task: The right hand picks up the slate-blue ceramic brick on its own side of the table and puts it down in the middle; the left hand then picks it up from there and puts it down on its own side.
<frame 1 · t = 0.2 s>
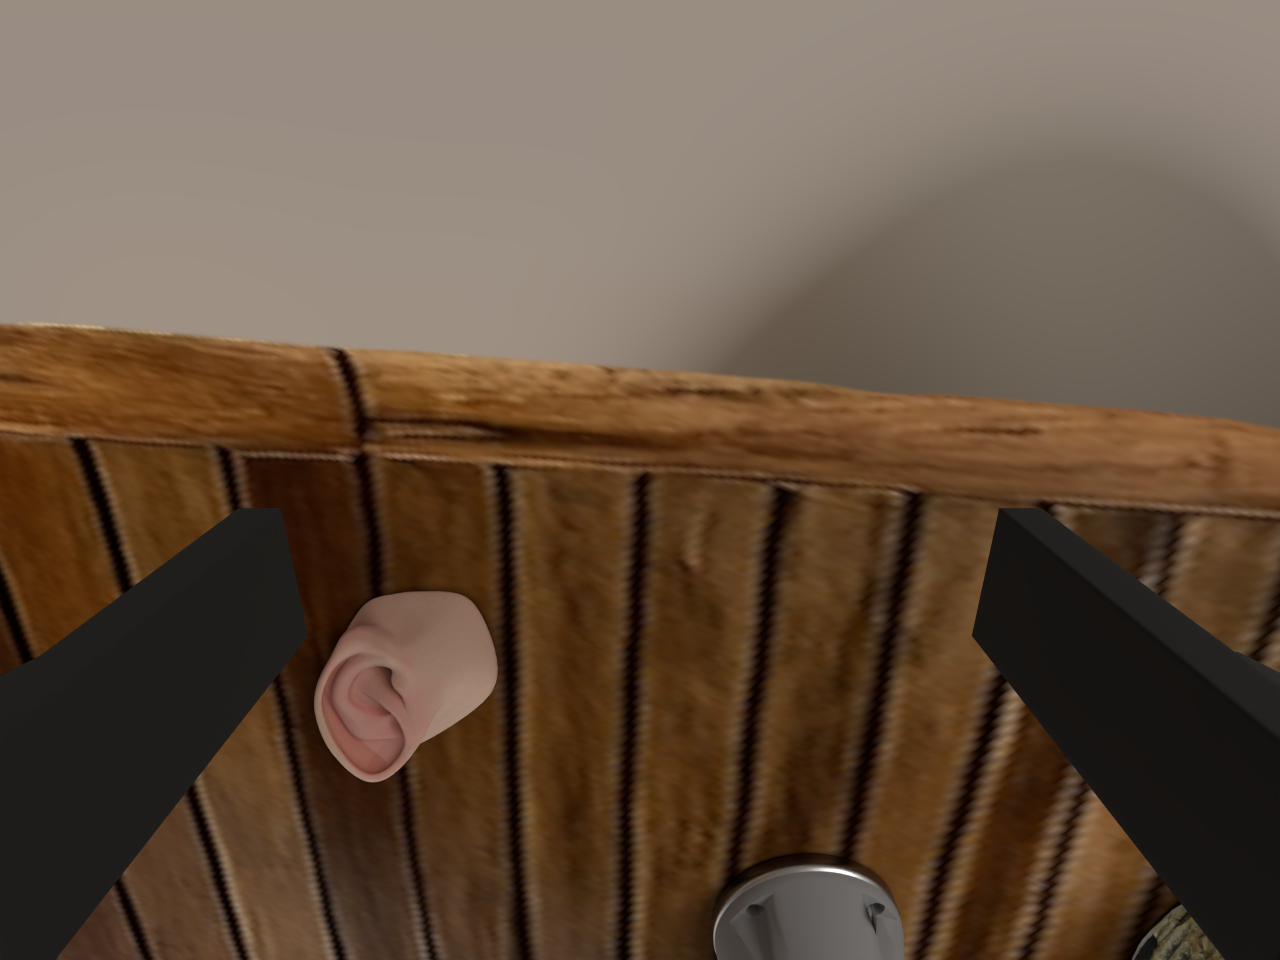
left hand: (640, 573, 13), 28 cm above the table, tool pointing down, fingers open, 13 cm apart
anatomical model: (413, 664, 47), on the table
fossil: (1200, 920, 57), on the table
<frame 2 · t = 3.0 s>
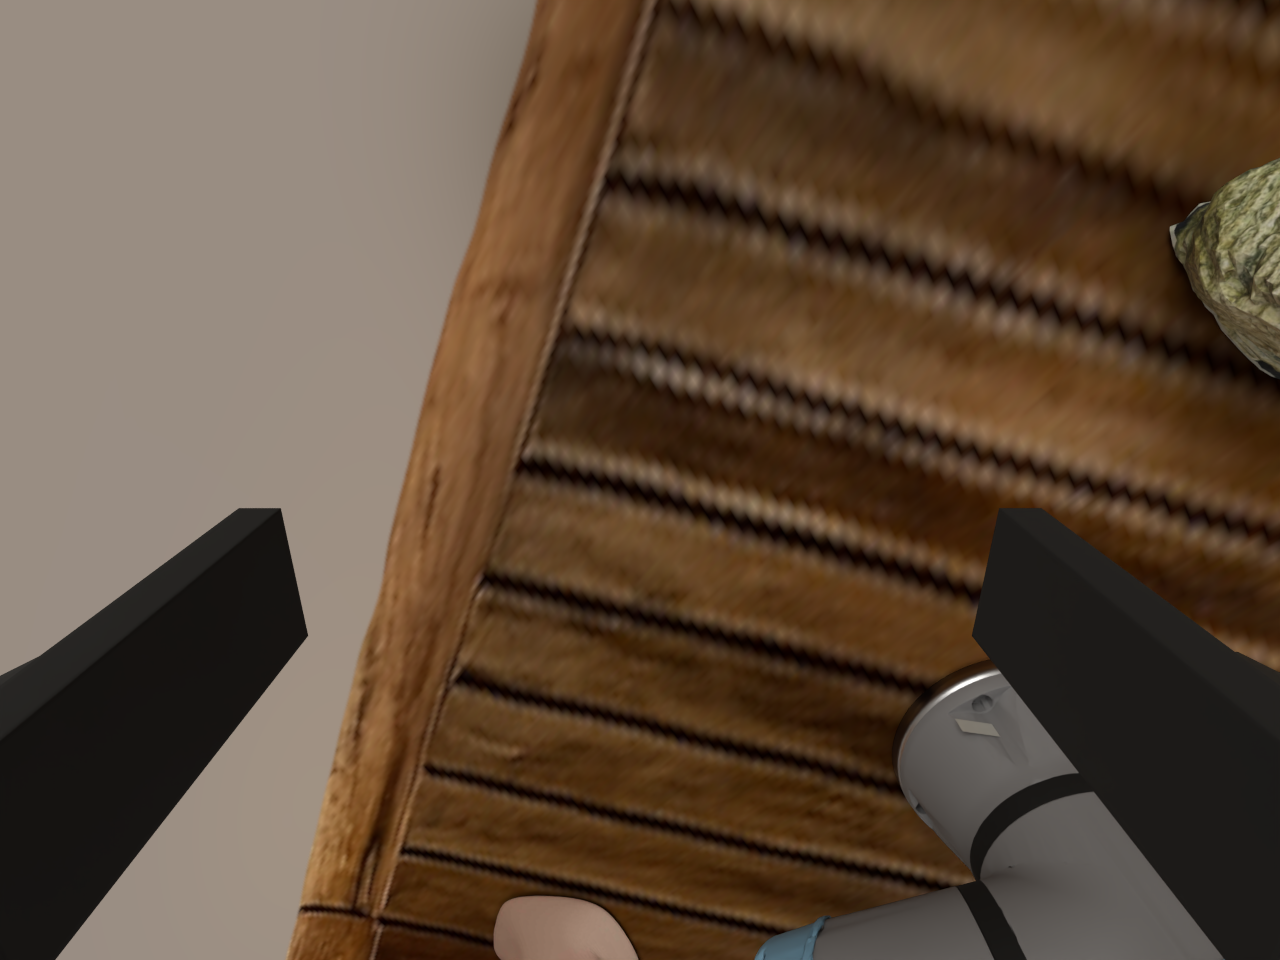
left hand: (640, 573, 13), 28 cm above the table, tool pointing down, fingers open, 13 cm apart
anatomical model: (564, 943, 57), on the table
fossil: (1274, 282, 37), on the table
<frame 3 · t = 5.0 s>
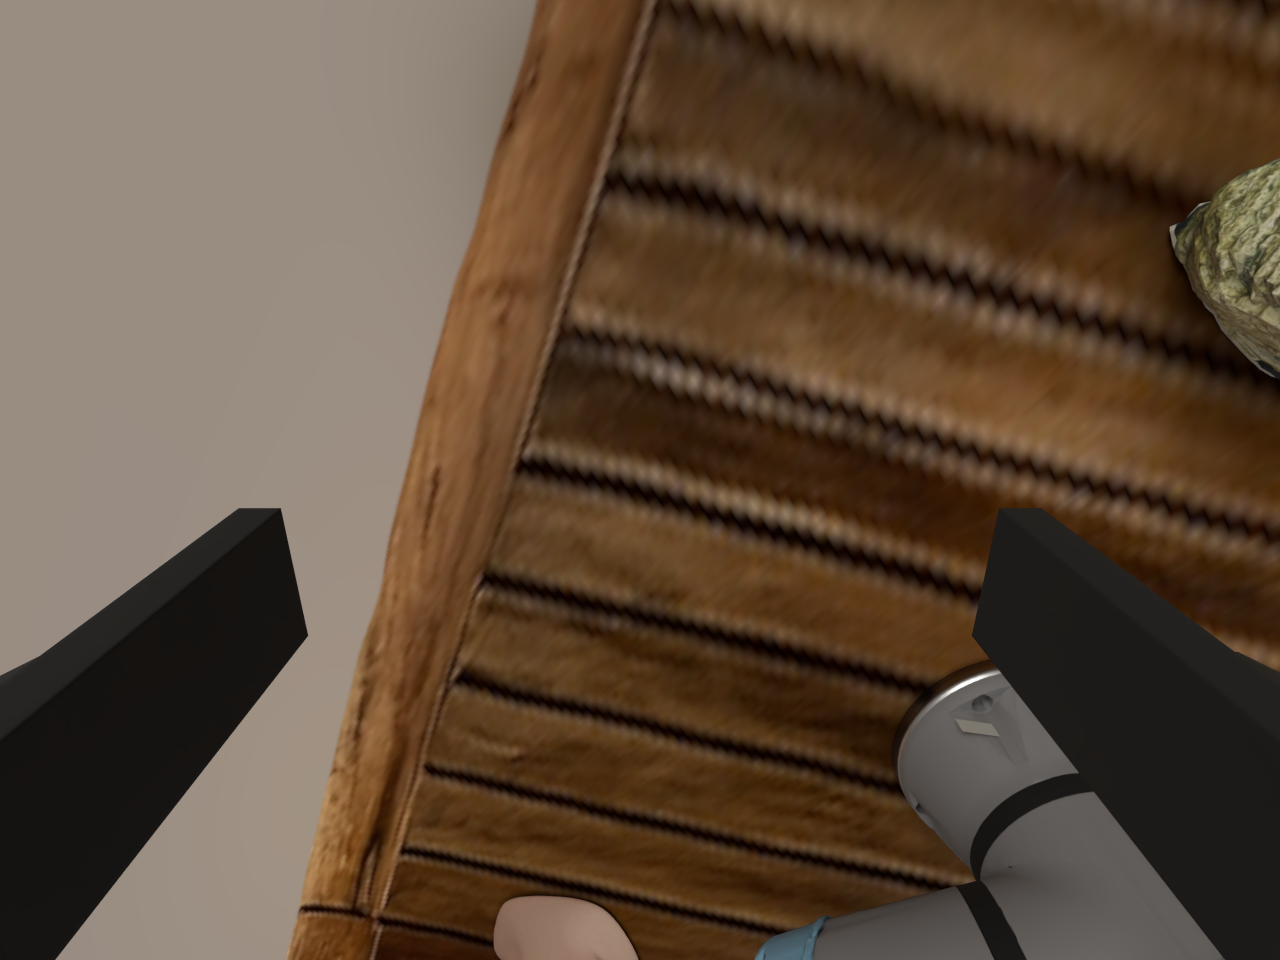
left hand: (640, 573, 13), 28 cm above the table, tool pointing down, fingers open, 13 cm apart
anatomical model: (564, 943, 57), on the table
fossil: (1274, 282, 37), on the table
when the right hand's fingers open (4 cm above the table, at t = 7.4 s): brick stays where it is, on the table.
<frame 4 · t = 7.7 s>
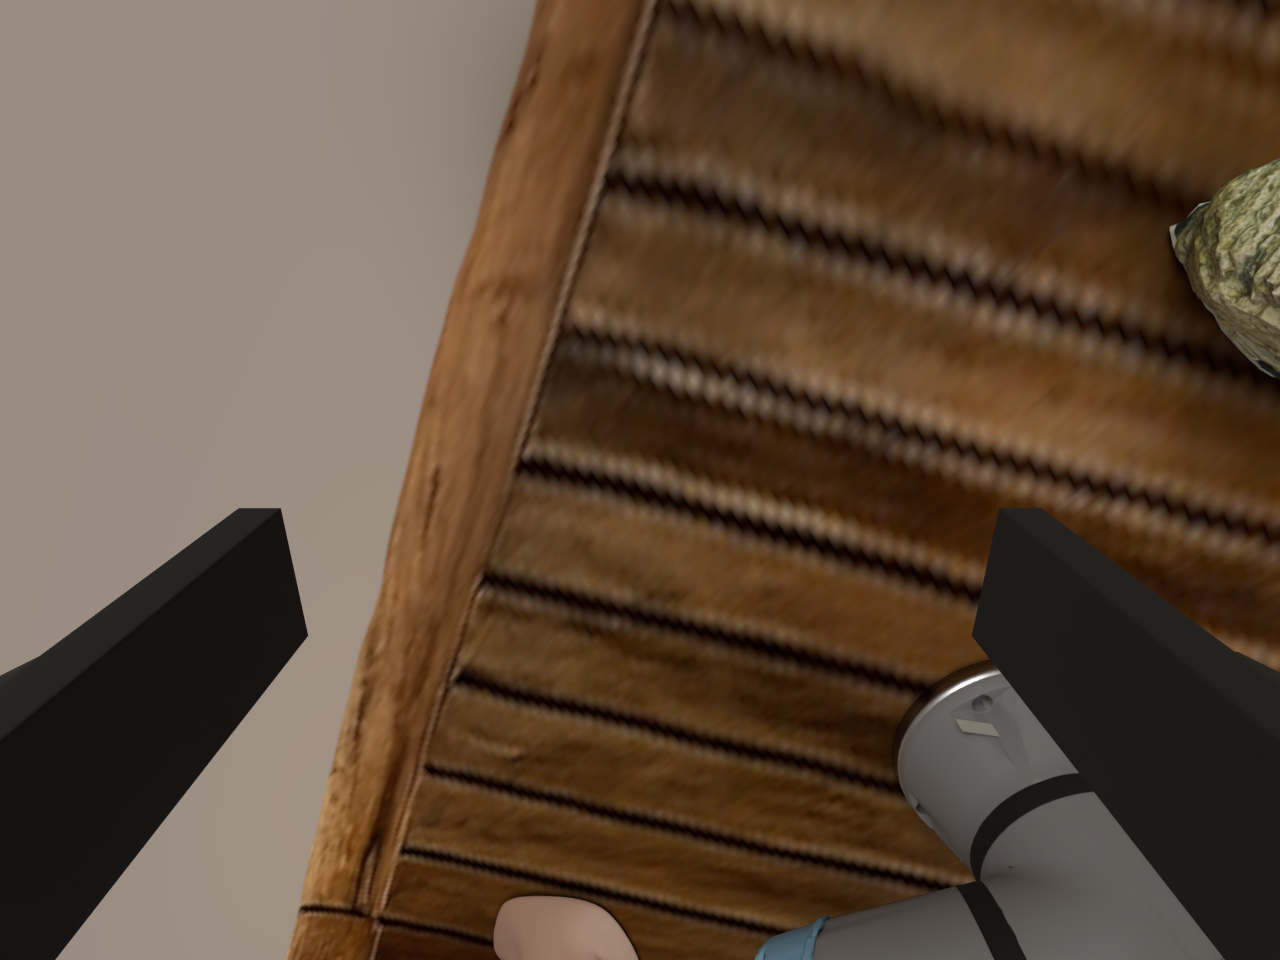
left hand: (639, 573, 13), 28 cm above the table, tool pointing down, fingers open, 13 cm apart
anatomical model: (564, 943, 57), on the table
fossil: (1274, 282, 37), on the table
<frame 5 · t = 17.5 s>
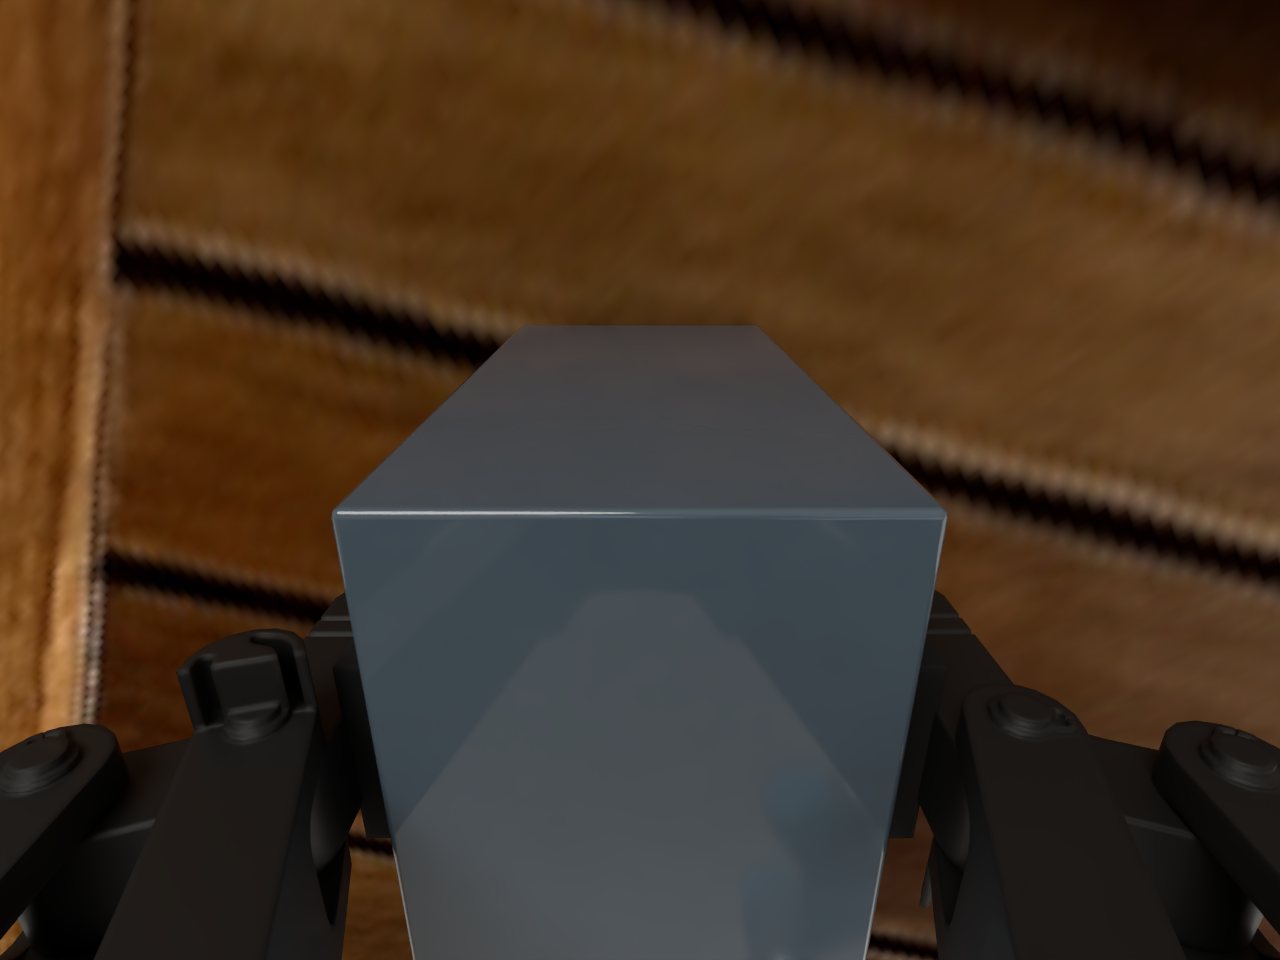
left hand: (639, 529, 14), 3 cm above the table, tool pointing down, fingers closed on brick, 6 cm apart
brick: (640, 476, 18), on the table, touching left hand
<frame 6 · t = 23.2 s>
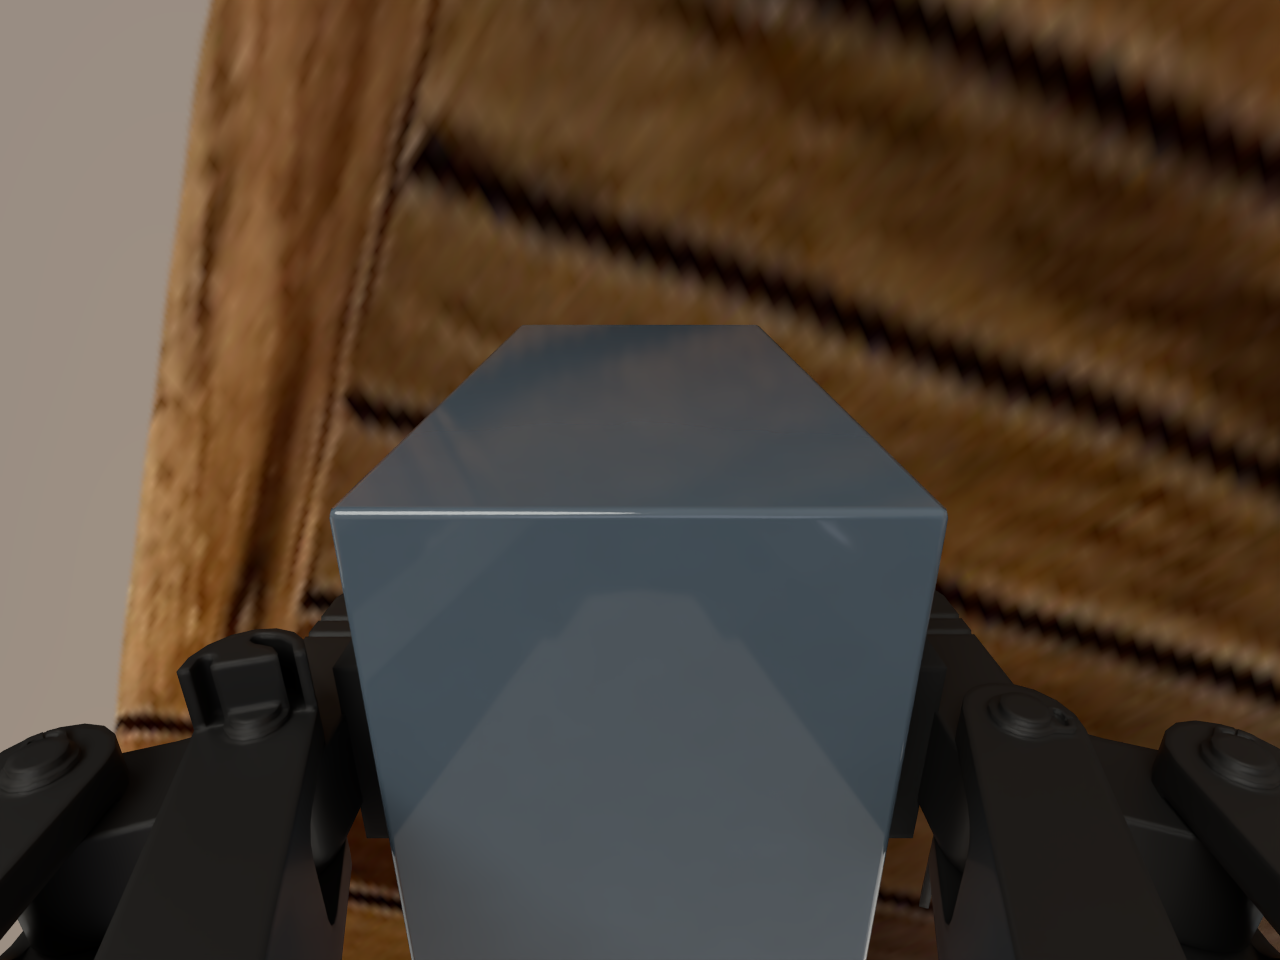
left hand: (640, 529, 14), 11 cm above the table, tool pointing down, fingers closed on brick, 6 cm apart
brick: (639, 476, 18), point 8 cm above the table, touching left hand
when the left hand's fingers open (4 cm above the table, at t = 29.1 s): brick drops 1 cm, on the table.
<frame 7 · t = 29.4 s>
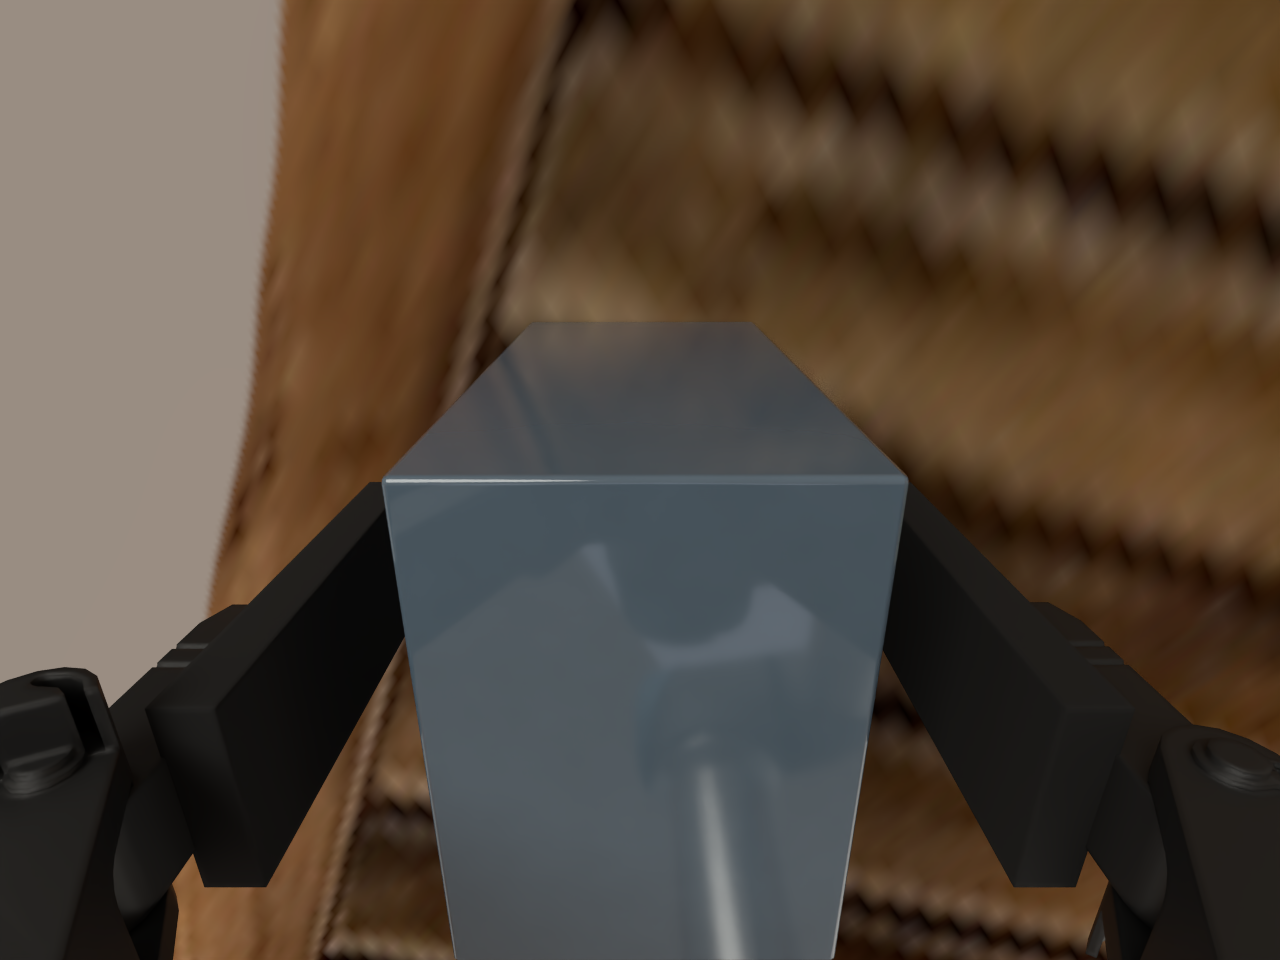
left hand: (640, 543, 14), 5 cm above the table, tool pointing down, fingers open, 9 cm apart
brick: (641, 465, 19), on the table
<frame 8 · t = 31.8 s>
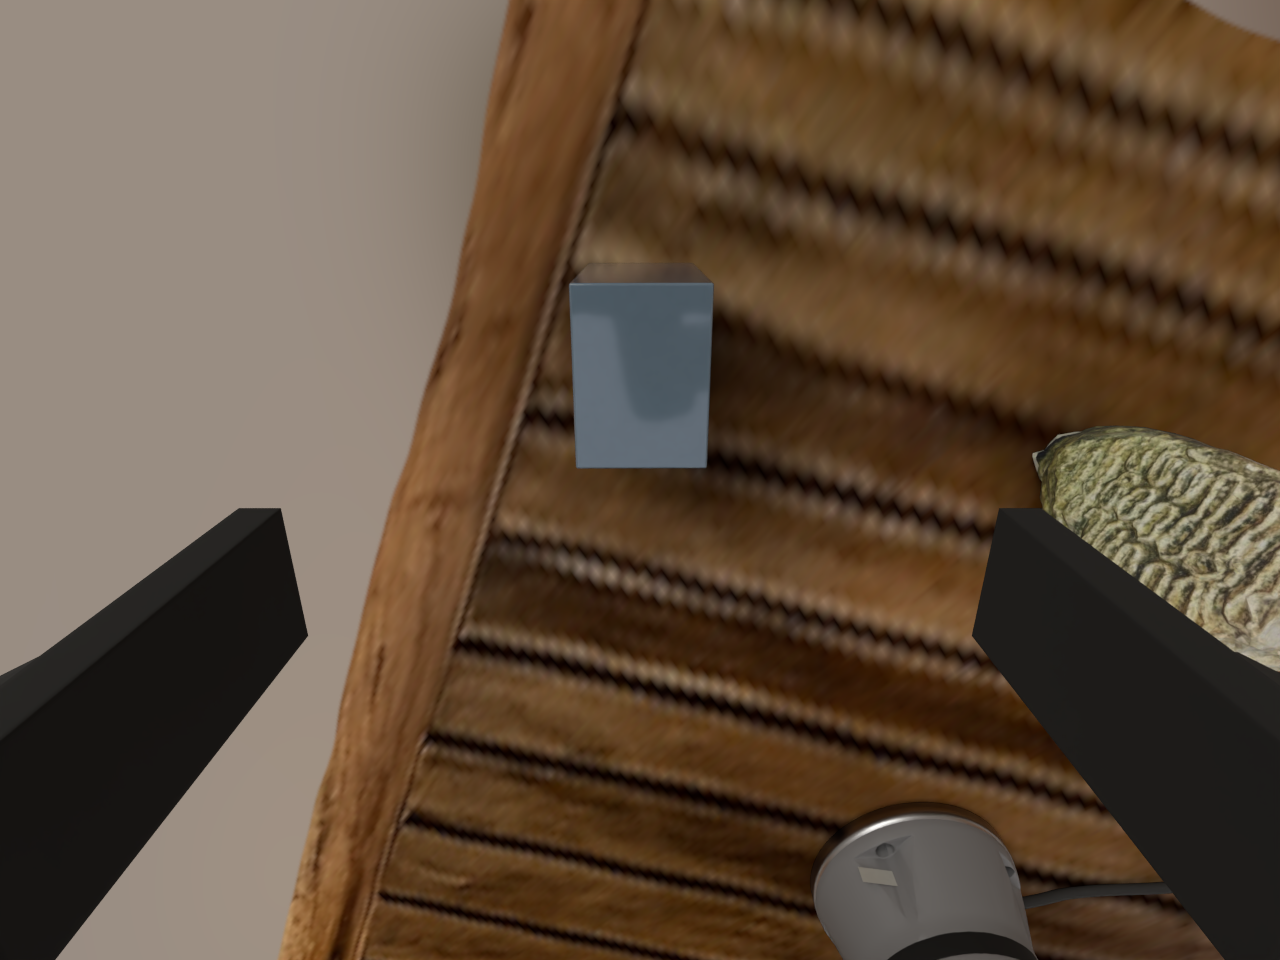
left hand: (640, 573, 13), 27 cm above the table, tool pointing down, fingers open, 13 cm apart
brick: (640, 335, 38), on the table
fossil: (1130, 496, 41), on the table
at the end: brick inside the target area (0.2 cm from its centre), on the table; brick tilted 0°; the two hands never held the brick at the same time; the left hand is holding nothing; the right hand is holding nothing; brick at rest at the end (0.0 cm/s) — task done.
